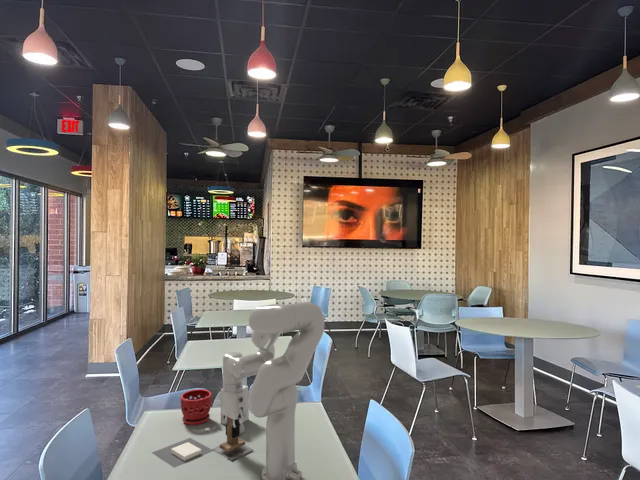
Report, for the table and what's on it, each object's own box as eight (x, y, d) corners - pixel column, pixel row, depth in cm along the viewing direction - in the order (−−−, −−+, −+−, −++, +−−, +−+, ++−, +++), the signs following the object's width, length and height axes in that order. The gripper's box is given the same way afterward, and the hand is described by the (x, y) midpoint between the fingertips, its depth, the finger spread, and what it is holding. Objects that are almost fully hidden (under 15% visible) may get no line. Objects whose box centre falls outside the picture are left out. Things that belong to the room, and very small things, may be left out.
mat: (213, 451, 155) (213, 450, 155) (174, 468, 143) (174, 467, 143) (190, 438, 166) (190, 437, 166) (151, 453, 153) (151, 452, 153)
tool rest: (253, 451, 155) (253, 449, 155) (231, 461, 148) (231, 459, 148) (233, 441, 163) (233, 439, 163) (211, 450, 156) (211, 449, 156)
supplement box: (233, 416, 188) (233, 382, 189) (249, 419, 184) (249, 385, 185) (219, 423, 180) (219, 388, 180) (236, 427, 176) (236, 392, 176)
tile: (188, 446, 158) (201, 454, 152) (171, 453, 153) (184, 461, 147) (188, 442, 158) (201, 449, 152) (171, 448, 153) (184, 456, 147)
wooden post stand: (245, 444, 157) (245, 403, 157) (227, 452, 151) (228, 410, 151) (236, 440, 160) (237, 400, 161) (219, 447, 154) (219, 406, 155)
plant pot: (175, 421, 183) (175, 393, 183) (203, 413, 192) (203, 387, 192) (188, 430, 173) (188, 401, 173) (216, 421, 182) (216, 394, 182)
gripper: (254, 388, 154) (254, 438, 153) (227, 379, 164) (227, 426, 164) (238, 393, 148) (238, 445, 148) (211, 384, 159) (211, 432, 158)
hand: (232, 435), depth 156 cm, fingers closed on wooden post stand, 3 cm apart
